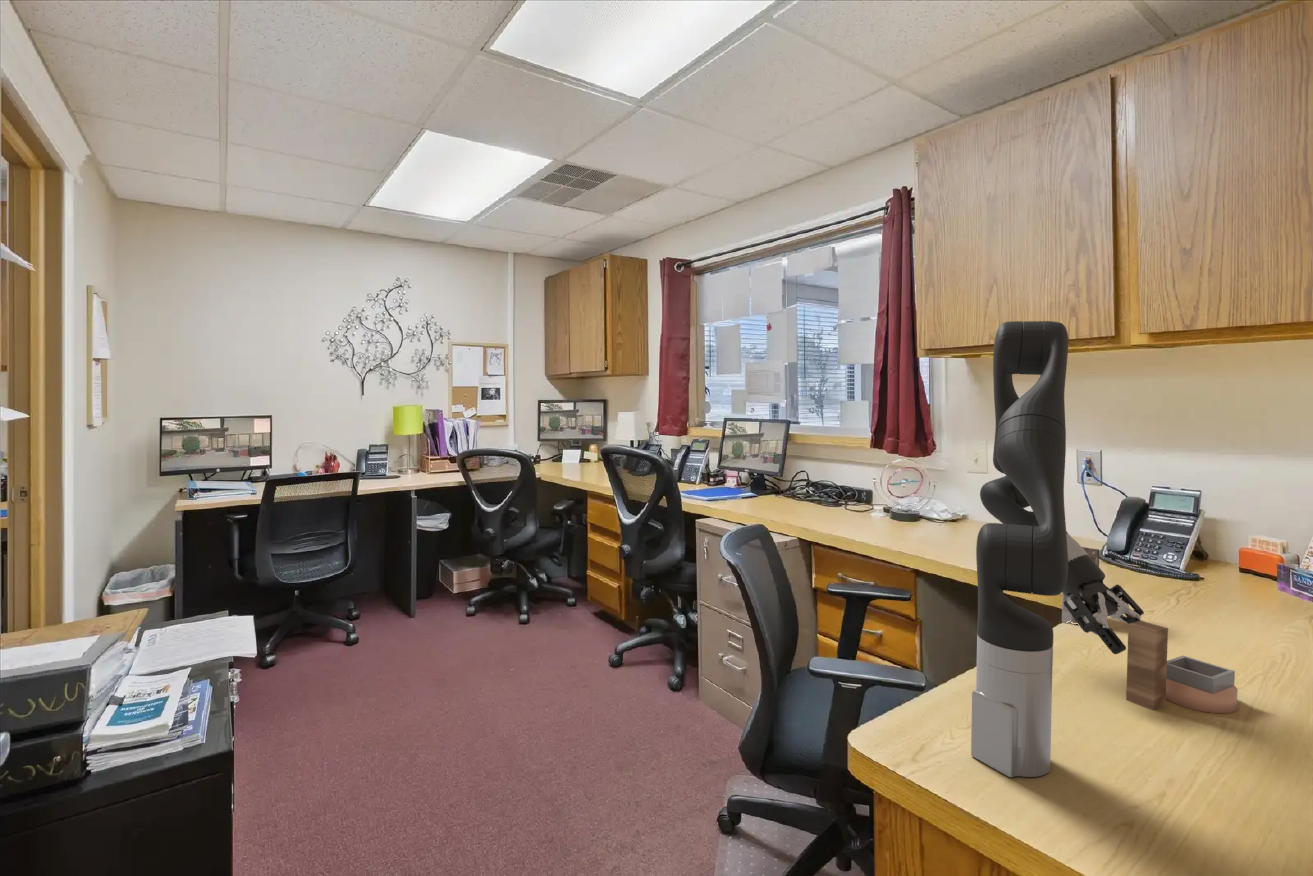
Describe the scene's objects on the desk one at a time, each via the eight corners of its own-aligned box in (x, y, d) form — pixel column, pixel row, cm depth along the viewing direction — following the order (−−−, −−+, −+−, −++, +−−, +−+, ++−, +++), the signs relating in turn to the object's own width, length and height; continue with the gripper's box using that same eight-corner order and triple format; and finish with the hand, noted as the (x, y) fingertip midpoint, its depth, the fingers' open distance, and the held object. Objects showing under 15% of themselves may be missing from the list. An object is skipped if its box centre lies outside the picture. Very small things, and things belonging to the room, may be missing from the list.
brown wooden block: (1153, 710, 102) (1155, 631, 101) (1126, 700, 106) (1128, 624, 105) (1165, 705, 103) (1167, 628, 103) (1138, 695, 107) (1140, 620, 106)
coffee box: (1065, 611, 149) (1067, 544, 149) (1098, 617, 145) (1100, 548, 144) (1060, 622, 142) (1062, 552, 141) (1094, 628, 138) (1096, 556, 137)
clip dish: (1217, 718, 99) (1218, 684, 99) (1145, 692, 108) (1146, 661, 108) (1249, 705, 103) (1250, 672, 103) (1177, 681, 112) (1178, 651, 112)
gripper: (1058, 558, 110) (1129, 645, 100) (1106, 548, 116) (1178, 630, 106) (1028, 580, 115) (1093, 665, 105) (1076, 570, 121) (1141, 649, 111)
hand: (1135, 647), depth 105 cm, fingers open, 8 cm apart
